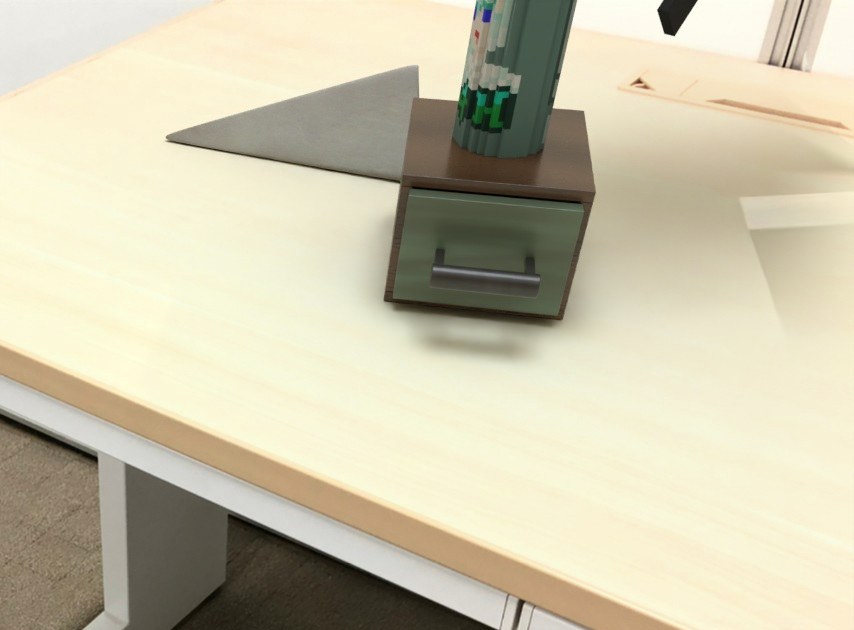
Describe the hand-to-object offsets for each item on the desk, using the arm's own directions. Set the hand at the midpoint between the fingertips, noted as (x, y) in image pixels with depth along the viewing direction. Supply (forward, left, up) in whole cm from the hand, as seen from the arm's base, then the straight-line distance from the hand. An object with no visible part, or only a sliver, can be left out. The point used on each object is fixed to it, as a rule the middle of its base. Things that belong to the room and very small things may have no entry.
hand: (575, 0), depth 86 cm
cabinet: (+3, +5, -18) cm, 19 cm away
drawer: (+2, +9, -17) cm, 19 cm away
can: (+3, +5, -9) cm, 10 cm away
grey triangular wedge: (+21, -8, -18) cm, 29 cm away
